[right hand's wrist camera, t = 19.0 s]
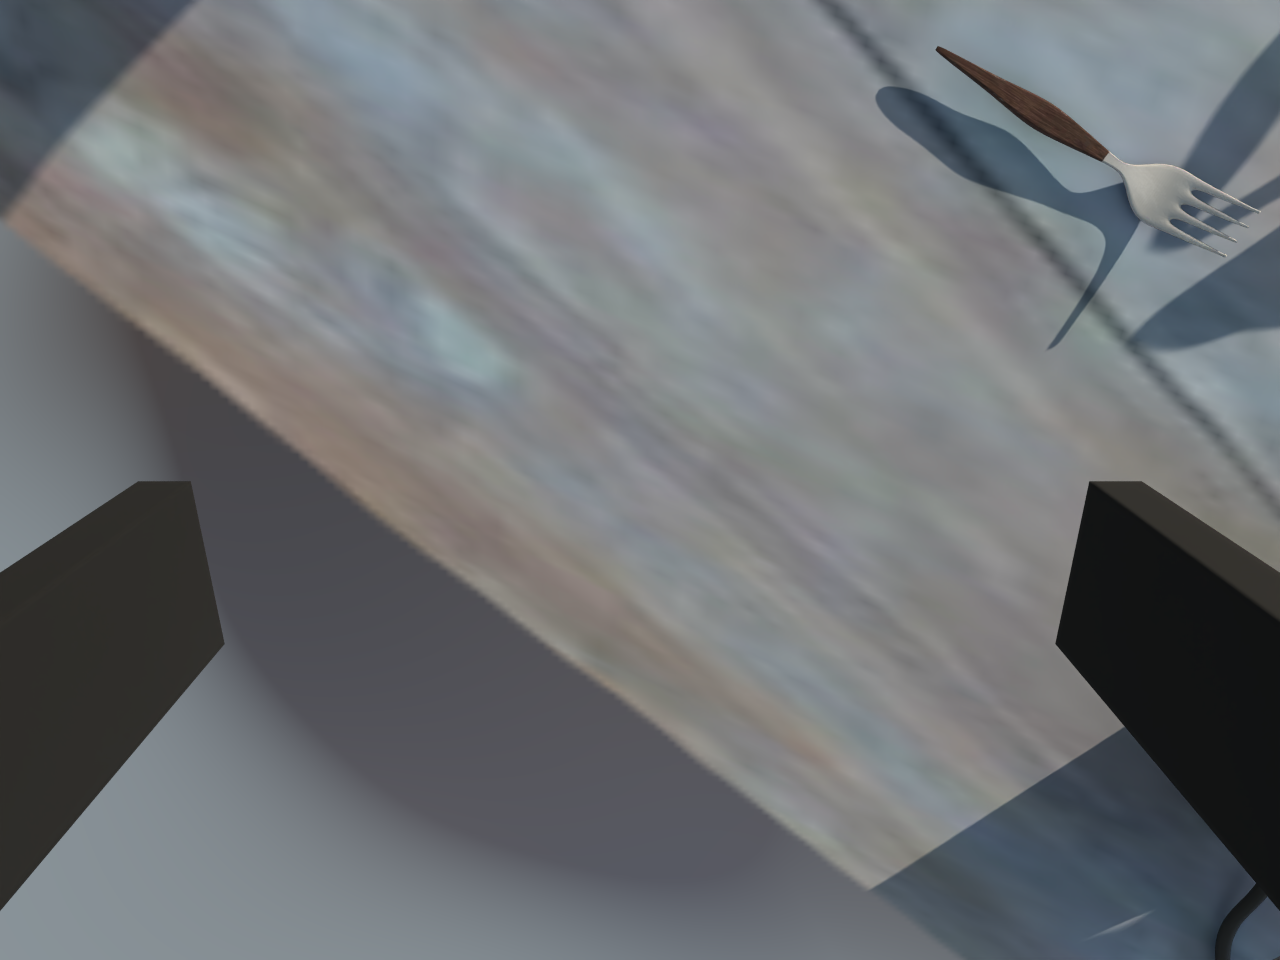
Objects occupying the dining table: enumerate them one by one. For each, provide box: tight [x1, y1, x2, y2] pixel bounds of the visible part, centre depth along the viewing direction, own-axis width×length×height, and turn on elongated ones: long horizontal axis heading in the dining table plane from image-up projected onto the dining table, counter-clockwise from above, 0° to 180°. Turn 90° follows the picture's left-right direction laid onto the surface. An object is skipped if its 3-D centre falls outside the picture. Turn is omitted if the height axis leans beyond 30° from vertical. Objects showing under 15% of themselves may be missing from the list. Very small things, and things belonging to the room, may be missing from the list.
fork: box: [936, 46, 1260, 257], centre depth 37 cm, size 3×16×2 cm, turn 62°
